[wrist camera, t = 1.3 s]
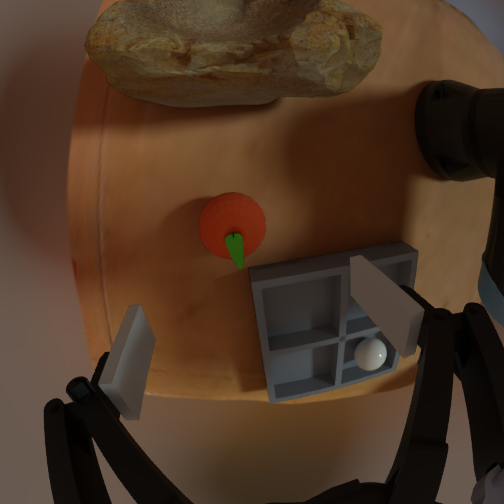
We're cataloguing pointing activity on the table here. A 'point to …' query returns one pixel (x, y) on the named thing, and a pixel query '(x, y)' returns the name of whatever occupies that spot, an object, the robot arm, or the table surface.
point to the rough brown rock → (233, 50)
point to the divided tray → (320, 319)
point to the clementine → (232, 226)
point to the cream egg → (370, 354)
